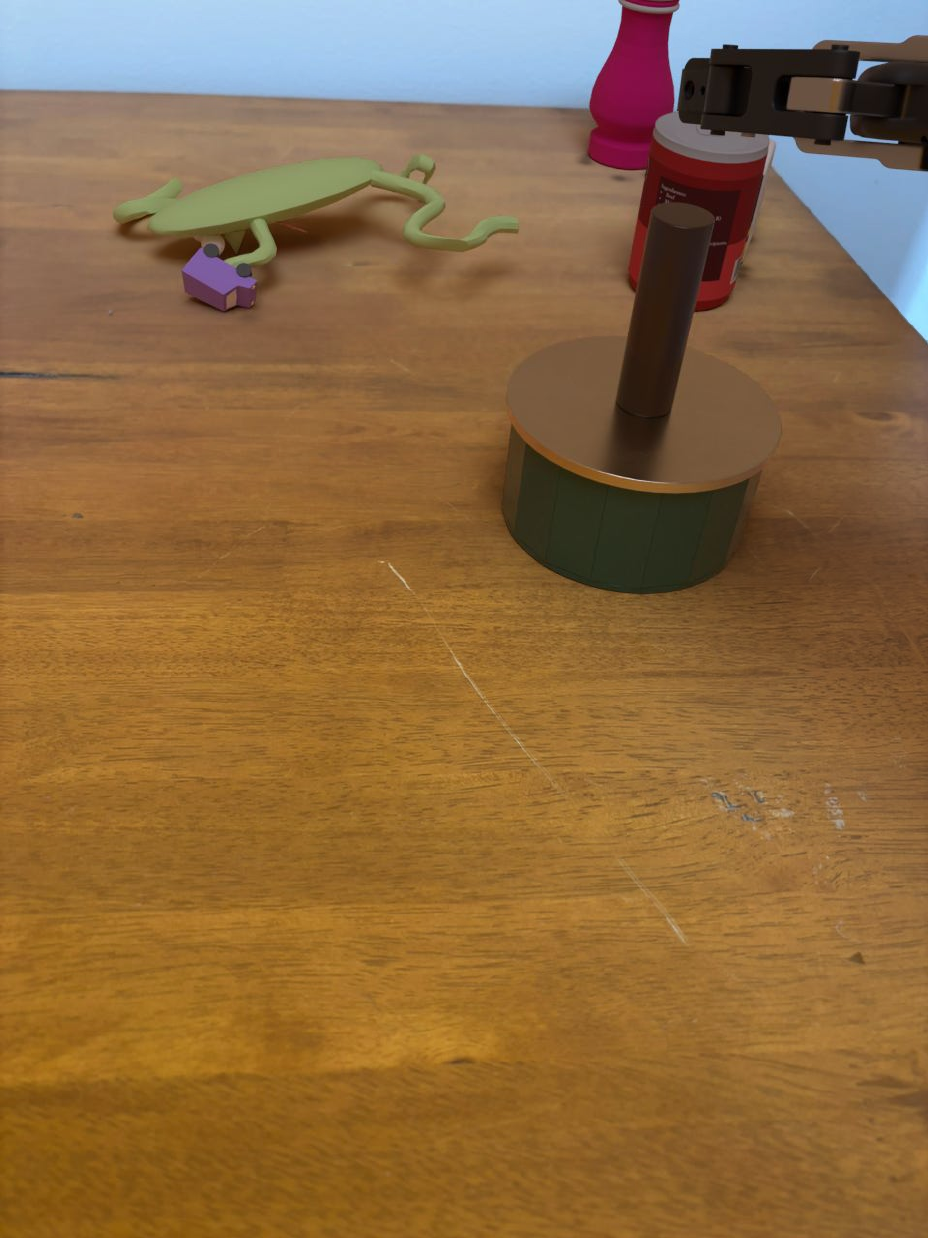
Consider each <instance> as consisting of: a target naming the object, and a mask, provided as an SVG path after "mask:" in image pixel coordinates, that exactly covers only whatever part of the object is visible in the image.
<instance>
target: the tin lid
mask: <svg viewBox="0 0 928 1238" xmlns="http://www.w3.org/2000/svg"><path fill="white" fill-rule="evenodd" d="M714 223H715V219H714V216H713V215H712V214H711V213H710V212H708V211H707V210H705V209H703V208H701V207H698V206H695V205H691V204H686V203H678V202H670V203H662V204H659V205H656V206H655V207H654V208H653V209H652V210H651V215H650V220H649V225H648V231H647V236H646V241H645V247H644V252H643V257H642V262H641V268H640V273H639V278H638V284H637V289H636V291H635V295H634V300H633V306H632V309H631V316H630V321H629V327H628V330H627V331H628V332H627V335H626V336H625V335H597V336H596V335H595V336H585V337H584V336H583V337H578V338H572V339H568V340H563V341H559V342H556V343H553V344H550V345H548V346H545V347H543V348H540V349H538V350H536V351H535V352H533V353H531V354H530V355H528V356H527V357H526V358H524V359H523V360H522V361H521V362H519V364H517V366H516V367H515V368H514V369H513V371H512V373H511V374H510V376H509V378H508V381H507V383H506V384H507V386H506V393H505V409H506V413H507V416H508V419H509V422H510V423H511V424H512V425H513V426H514V428H515V430H516V431H517V433H518V434H519V435H520V436H521V437H522V438H523V440H524V441H525V442H526V443H527V444H529V445H530V446H531V447H532V448H533V449H534V450H535V451H537V452H538V453H539V454H541V455H542V456H544V457H545V458H547V459H548V460H550V461H551V462H553V463H555V464H557V465H559V466H560V467H562V468H564V469H566V470H569V471H571V472H573V473H575V474H578V475H580V476H582V477H585V478H588V479H591V480H594V481H597V482H600V483H604V484H607V485H611V486H615V487H619V488H625V489H630V490H635V491H643V492H652V493H671V494H679V493H697V492H704V491H712V490H716V489H720V488H724V487H728V486H731V485H734V484H737V483H740V482H742V481H744V480H746V479H748V478H750V477H752V476H754V475H755V474H757V473H758V472H759V471H761V470H762V469H765V468H766V467H767V466H768V464H769V463H770V462H771V461H772V459H773V458H774V456H775V455H776V453H777V451H778V447H779V444H780V441H781V438H782V434H783V422H782V418H781V413H780V412H779V409H778V407H777V404H776V403H775V401H774V400H773V398H772V397H771V395H769V393H768V392H767V391H766V390H765V389H764V388H763V387H762V386H761V385H760V384H759V383H758V382H757V381H755V380H754V379H753V378H752V377H750V376H749V375H747V374H746V373H744V372H743V371H742V370H740V369H739V368H736V367H735V366H734V365H731V364H730V363H728V362H726V361H724V360H722V359H720V358H719V357H718V358H717V357H715V356H713V355H712V354H708V353H706V352H703V351H700V350H698V349H696V348H695V349H694V348H692V347H688V346H687V345H688V341H689V336H690V331H691V327H692V323H693V318H694V314H695V311H694V310H695V306H696V301H697V297H698V293H699V288H700V284H701V279H702V275H703V271H704V266H705V262H706V258H707V253H708V249H709V244H710V240H711V236H712V231H713V227H714ZM762 471H763V470H762Z"/></svg>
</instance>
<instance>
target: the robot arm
mask: <svg viewBox="0 0 928 1238" xmlns="http://www.w3.org/2000/svg"><path fill="white" fill-rule="evenodd" d="M709 54H710V56H709V57H691V58H689V59H688V60H687V62H686V63H685V65H684V67H683V68H682V69H681V74H680V75H681V76H680V82H679V83H680V84H679V91H678V98H677V107H676V112H678V114H679V118H680V120H681V122H682V123H686V124H698V125H700V129H707V130H711V132H710V135H722V136H725V131H729V132H740V133H741V136H743V137H755V134H763V135H769V136H775V137H776V136H777V137H787V138H793V140H794V142H795V145H796V147H797V149H798V150H799V151H800V152H802V153H804V154H812V155H822V156H833V157H835V156H836V157H847V158H857V159H858V158H859V159H869V160H870V159H871V160H876V161H879V162H880V164H881V165H882V166H883V167H884V168H887V169H890V170H891V169H892V170H901V171H911V172H912V171H913V172H914V171H915V172H924V173H925V172H926V173H928V35H926V34H925V35H924V34H918V35H917V34H915V35H912V36H909V37H908V38H907V39H905V40H904V41H901V42H880V41H860V40H859V41H858V40H842V39H841V40H839V39H838V40H837V39H824V40H821V41H819V42H817V43H816V44H815V45H814V46H813V47H812V48H739V45H738V44H729V43H727V44H725V43H724V44H722V48H711V49H710V53H709ZM860 62H875V63H879V64H876V65H872V66H870V67H868V68H866V69H865V70H864V71H862V72H861V74H860V75H859V76H858V78H857V74H858V68H859V63H860ZM880 63H881V64H880ZM856 78H857V80H855V79H856ZM848 120H849V121H848ZM848 122H849V130H850V132H851V134H852V135H854V136H858V137H860V138H865V139H872V140H879V141H870V140H856V139H845V137H846V132H847V131H846V130H847V126H848ZM880 141H881V142H880ZM883 141H891V142H883ZM894 142H897V143H894Z"/></svg>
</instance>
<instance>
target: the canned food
mask: <svg viewBox="0 0 928 1238" xmlns="http://www.w3.org/2000/svg"><path fill="white" fill-rule="evenodd" d="M710 132H711V130H707V129H700V125H698V124H686V123H682V122H681V120H680V118H679V114H678V111H673V113H669V114H666V115H663V116H661V117H660V118H658V120H657V121H656V124H655V128H654V130H653V135H652V141H651V145H650V150H649V156H648V161H647V167H646V168H645V173H644V179H643V185H642V190H641V196H640V202H639V207H638V213H637V219H636V224H635V230H634V235H633V240H632V245H631V246H632V247H631V252H630V257H629V264H628V277H629V283H630V285H631V287H632V288H633V290H634V291H635V292H636V289H637V284H638V278H639V273H640V268H641V262H642V257H643V252H644V247H645V241H646V236H647V231H648V225H649V220H650V215H651V210H652V209H653V208H654V207H655V206H656V205H659V204H662V203H670V202H678V203H686V204H691V205H695V206H698V207H701V208H703V209H705V210H707V211H708V212H710V213H711V214H712V215H713V216H714V219H715V223H714V227H713V231H712V236H711V240H710V244H709V249H708V253H707V258H706V262H705V266H704V271H703V275H702V279H701V284H700V288H699V293H698V297H697V301H696V306H695V310H694V312H700V311H706V310H707V311H709V310H712V309H714V308H717V307H719V306H721V305H723V304H724V303H725V302H726V301H727V300H728V299H729V297H730V296H731V294H732V292H733V290H734V288H735V285H736V282H737V279H738V275H739V274H738V273H739V269H740V266H741V263H742V262H741V258H742V255H743V251H744V247H745V243H746V239H747V235H748V231H749V227H750V223H751V219H752V215H753V211H754V207H755V204H756V200H757V196H758V192H759V188H760V184H761V180H762V176H763V172H764V168H765V163H766V159H767V155H768V147H769V143H770V140H769V139H770V136H769V137H768V135H763V134H755V137H743V136H741V133H740V132H729V131H725V136H722V135H710ZM740 262H741V263H740Z"/></svg>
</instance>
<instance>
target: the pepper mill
mask: <svg viewBox="0 0 928 1238" xmlns="http://www.w3.org/2000/svg"><path fill="white" fill-rule="evenodd" d="M617 1H618V3H619V4H620V6H621V15H620V22H619V27H618V31H617V36H616V38H615V40H614V43H613V47H612V49H611V51H610V53H609V54H608V56H607V59H606V60H605V62H604V63H603V65H602V67H601V69H600V71H599V73H598V75H597V76H596V79H595V81H594V83H593V86H592V89H591V93H590V99H589V102H588V103H589V104H588V108H589V112H590V114H591V117H592V119H593V120H594V123H595V124H596V127H594V128H593V129H592V130H591V131H590V134H589V141H588V149H587V153H588V154H589V156H590V158H591V159H592V160H594V161H596V162H598V164H599V163H600V164H602V165H605V166H608V167H610V168H611V167H612V168H615V169H620V170H644V169H646V167H647V161H648V156H649V150H650V145H651V141H652V135H653V130H654V128H655V124H656V121H657V120H658V118H660V117H661V116H663V115H666V114H669V113H673V112H674V109H675V85H674V80H673V76H672V69H671V64H670V58H669V56H670V55H669V54H670V53H669V38H670V29H671V24H672V21H673V20H672V19H673V16H674V13H675V12H678V10H679V9H680V6H681V5H680V0H617Z"/></svg>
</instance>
